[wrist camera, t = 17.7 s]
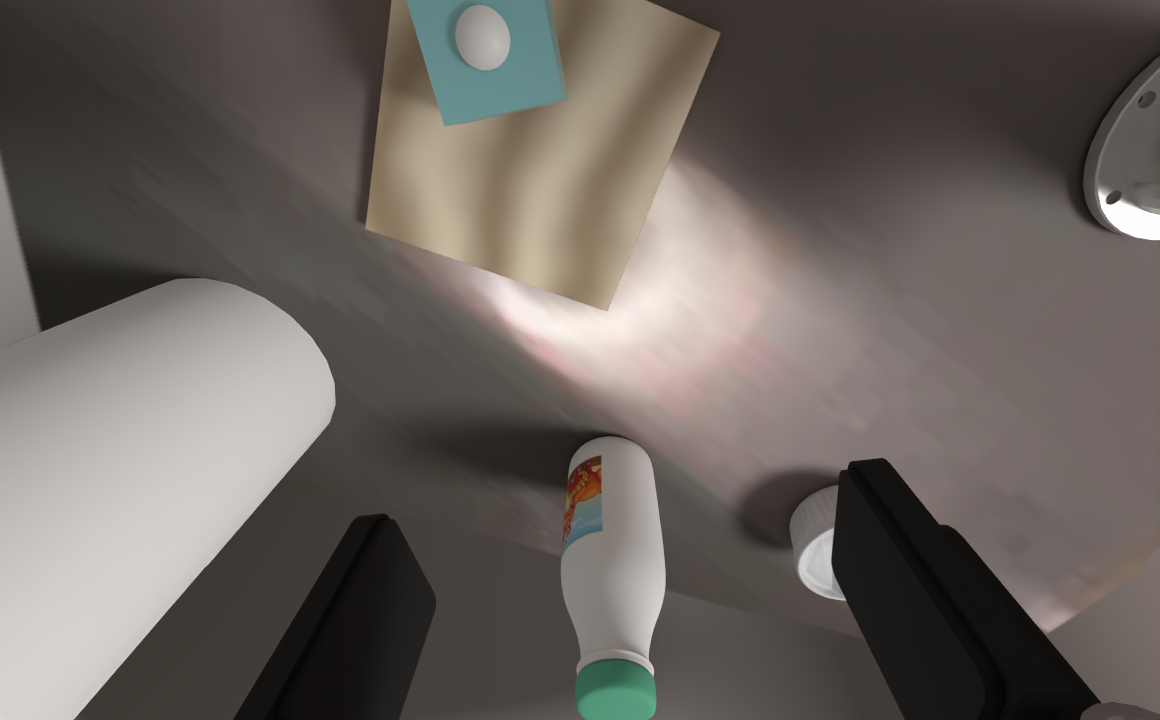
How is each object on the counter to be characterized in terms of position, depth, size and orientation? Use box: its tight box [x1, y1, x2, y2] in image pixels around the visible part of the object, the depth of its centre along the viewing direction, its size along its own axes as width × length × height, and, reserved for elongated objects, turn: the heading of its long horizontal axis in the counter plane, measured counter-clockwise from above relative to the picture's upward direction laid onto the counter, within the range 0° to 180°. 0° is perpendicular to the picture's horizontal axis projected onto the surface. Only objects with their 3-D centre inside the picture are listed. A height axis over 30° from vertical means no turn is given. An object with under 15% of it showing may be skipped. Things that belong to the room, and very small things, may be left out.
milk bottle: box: [561, 436, 665, 720], centre depth 34 cm, size 8×8×20 cm
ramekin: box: [790, 485, 846, 600], centre depth 43 cm, size 11×11×5 cm
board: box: [366, 0, 721, 311], centre depth 30 cm, size 18×18×1 cm
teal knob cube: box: [406, 0, 568, 126], centre depth 23 cm, size 6×6×5 cm
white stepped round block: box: [0, 278, 335, 720], centre depth 28 cm, size 17×17×28 cm
